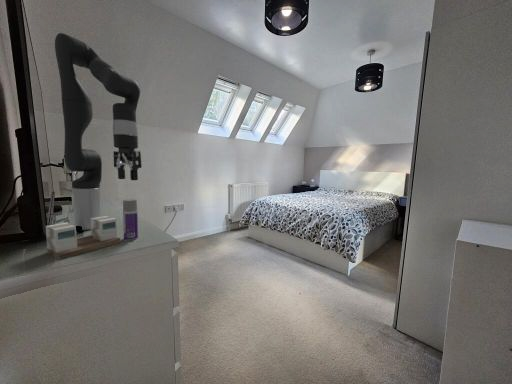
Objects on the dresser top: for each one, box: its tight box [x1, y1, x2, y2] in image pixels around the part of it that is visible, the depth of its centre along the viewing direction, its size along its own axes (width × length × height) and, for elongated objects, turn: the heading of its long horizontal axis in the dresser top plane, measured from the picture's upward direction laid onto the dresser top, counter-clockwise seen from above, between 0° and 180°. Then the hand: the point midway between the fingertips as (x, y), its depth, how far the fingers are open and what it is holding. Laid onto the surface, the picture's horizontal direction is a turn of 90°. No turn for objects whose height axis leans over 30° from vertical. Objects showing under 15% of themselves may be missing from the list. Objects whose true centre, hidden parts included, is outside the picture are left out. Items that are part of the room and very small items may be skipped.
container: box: [122, 198, 139, 242], centre depth 81 cm, size 5×5×15 cm
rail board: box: [45, 215, 121, 260], centre depth 71 cm, size 9×17×8 cm, turn 152°
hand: (127, 179), depth 79 cm, fingers open, 8 cm apart
